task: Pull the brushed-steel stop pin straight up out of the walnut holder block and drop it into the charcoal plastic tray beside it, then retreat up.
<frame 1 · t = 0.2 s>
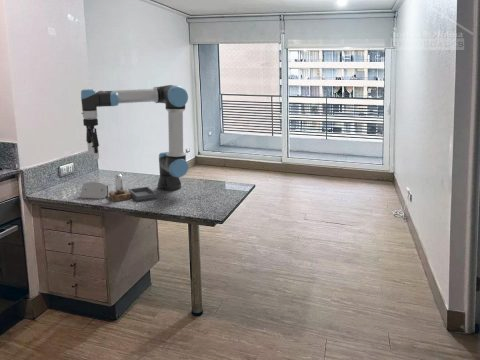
hand: (93, 156, 254), 27 cm above the kitchen counter, fingers open, 13 cm apart
holder: (119, 197, 272), on the kitchen counter
tray: (142, 196, 276), on the kitchen counter
grey upright slab: (95, 196, 276), on the kitchen counter
pin: (119, 198, 272), resting in holder
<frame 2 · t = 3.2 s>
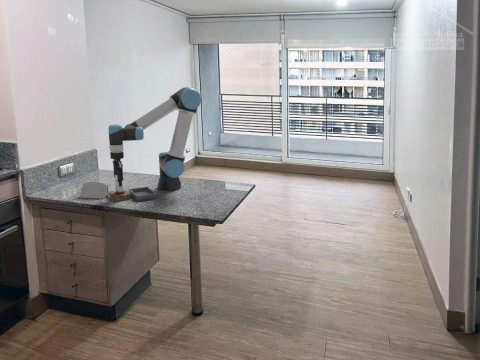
hand: (119, 190, 271), 5 cm above the kitchen counter, fingers closed on pin, 4 cm apart
pin: (120, 197, 272), resting in holder, touching gripper
everything else where it was.
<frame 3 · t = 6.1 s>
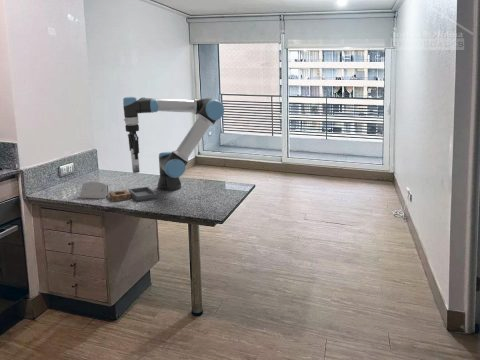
hand: (135, 163, 270), 20 cm above the kitchen counter, fingers closed on pin, 4 cm apart
pin: (136, 172, 271), point 15 cm above the kitchen counter, touching gripper
everything else where it was.
when the fingers open (7 cm above the kitchen counter, at t = 9.2 s): pin stays where it is, resting on tray.
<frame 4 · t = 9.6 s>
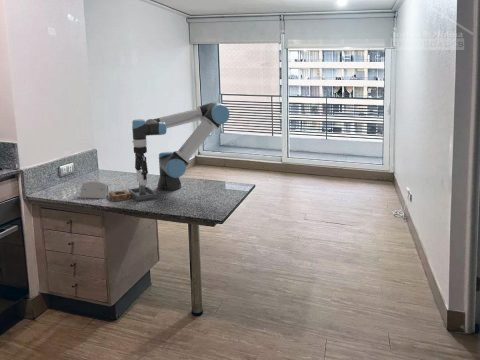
hand: (142, 182, 273), 8 cm above the kitchen counter, fingers open, 10 cm apart
pin: (142, 194, 275), point 1 cm above the kitchen counter, touching tray
everything else where it was.
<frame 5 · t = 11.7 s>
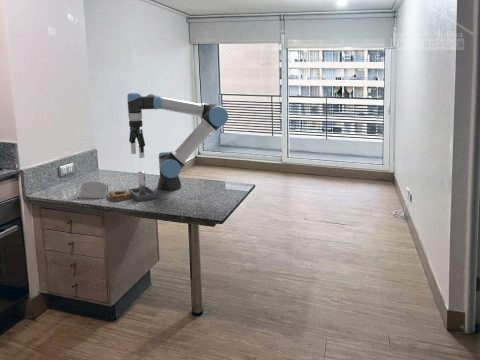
hand: (137, 155, 272), 24 cm above the kitchen counter, fingers open, 13 cm apart
nothing on the kitchen counter moved.
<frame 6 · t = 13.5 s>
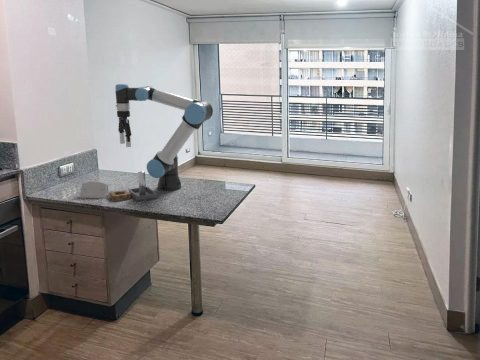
hand: (125, 145, 281), 29 cm above the kitchen counter, fingers open, 13 cm apart
nothing on the kitchen counter moved.
at the end: pin inside the target area on the tray (0.0 cm from its centre), point 0.8 cm above the tray's base; the gripper is holding nothing; pin moved 13.4 cm from its start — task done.
